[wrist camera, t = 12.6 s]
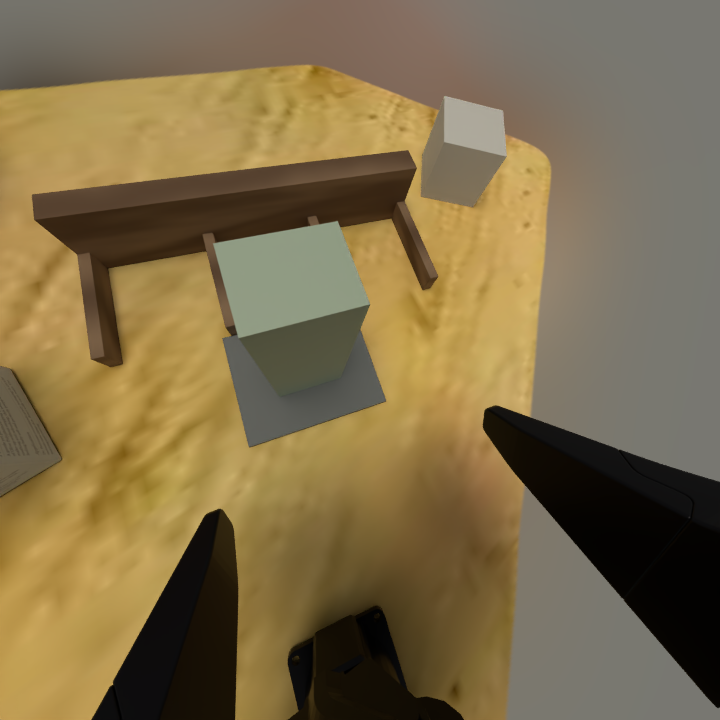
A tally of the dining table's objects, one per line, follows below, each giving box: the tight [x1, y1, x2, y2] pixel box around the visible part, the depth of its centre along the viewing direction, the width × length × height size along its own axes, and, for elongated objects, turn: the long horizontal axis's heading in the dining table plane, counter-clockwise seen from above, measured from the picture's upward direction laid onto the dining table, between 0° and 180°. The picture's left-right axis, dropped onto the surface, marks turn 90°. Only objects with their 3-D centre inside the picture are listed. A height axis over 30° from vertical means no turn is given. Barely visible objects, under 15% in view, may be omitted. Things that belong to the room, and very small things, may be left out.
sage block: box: [213, 221, 370, 397], centre depth 17 cm, size 4×5×13 cm
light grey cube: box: [421, 96, 507, 207], centre depth 30 cm, size 6×6×6 cm
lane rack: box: [32, 150, 438, 367], centre depth 23 cm, size 10×27×6 cm, turn 109°
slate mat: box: [222, 330, 386, 447], centre depth 24 cm, size 9×11×1 cm
